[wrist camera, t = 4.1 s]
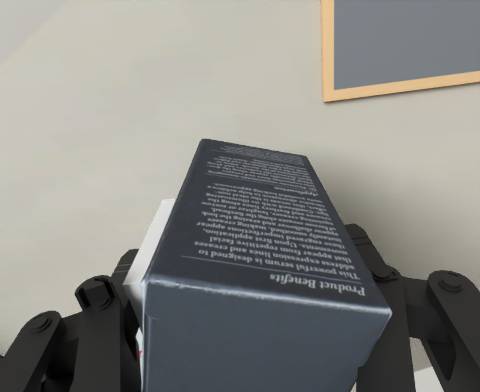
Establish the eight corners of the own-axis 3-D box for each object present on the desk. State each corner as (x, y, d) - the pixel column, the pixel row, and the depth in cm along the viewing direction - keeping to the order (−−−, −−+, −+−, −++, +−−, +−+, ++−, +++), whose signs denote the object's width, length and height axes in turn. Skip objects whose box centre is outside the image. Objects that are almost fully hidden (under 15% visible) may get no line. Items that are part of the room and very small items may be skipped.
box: (276, 271, 20) (305, 489, 10) (185, 258, 19) (128, 472, 10) (310, 152, 16) (404, 318, 7) (200, 133, 16) (133, 281, 6)
